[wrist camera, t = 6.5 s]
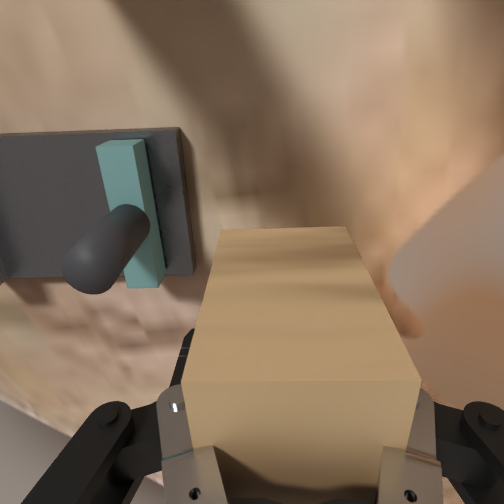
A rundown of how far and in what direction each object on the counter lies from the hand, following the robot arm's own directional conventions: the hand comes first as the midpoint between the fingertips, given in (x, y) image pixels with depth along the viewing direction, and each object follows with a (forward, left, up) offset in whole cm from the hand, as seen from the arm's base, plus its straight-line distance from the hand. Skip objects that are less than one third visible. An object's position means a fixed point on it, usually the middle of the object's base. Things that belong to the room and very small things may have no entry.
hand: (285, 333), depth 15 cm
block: (0, 0, -2) cm, 2 cm away
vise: (0, -17, -17) cm, 24 cm away
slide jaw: (0, -11, -15) cm, 18 cm away
